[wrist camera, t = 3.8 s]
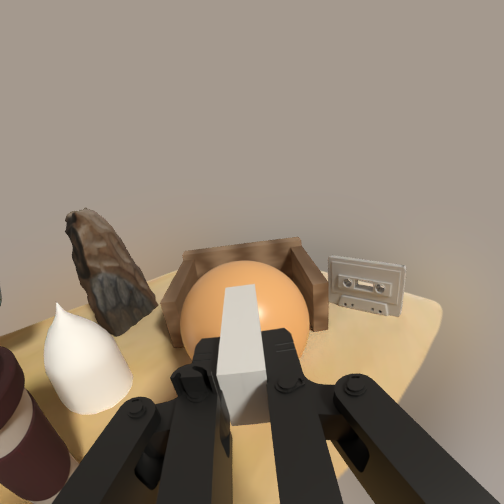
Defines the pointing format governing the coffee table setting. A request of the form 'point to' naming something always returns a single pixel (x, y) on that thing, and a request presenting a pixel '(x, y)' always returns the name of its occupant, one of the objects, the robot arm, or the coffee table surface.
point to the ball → (268, 299)
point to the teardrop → (85, 364)
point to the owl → (108, 273)
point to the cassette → (366, 296)
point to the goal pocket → (268, 252)
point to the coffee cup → (28, 441)
